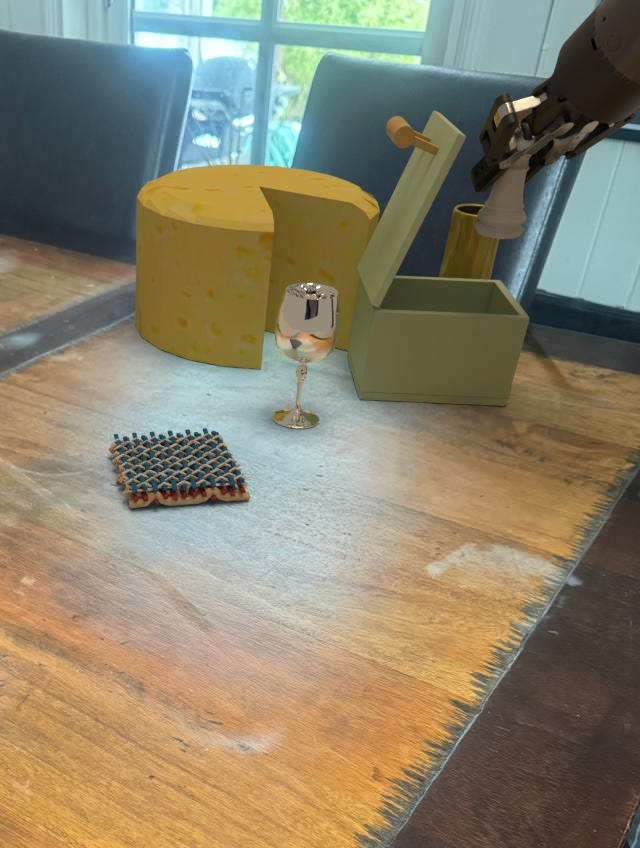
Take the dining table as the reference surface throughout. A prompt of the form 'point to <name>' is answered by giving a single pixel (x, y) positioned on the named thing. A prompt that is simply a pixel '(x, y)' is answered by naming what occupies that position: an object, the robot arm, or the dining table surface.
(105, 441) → the dining table surface
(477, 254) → the vase
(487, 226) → the rook chess piece
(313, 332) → the wineglass
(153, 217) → the cheese
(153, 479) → the woven mat
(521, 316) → the chest
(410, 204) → the lid
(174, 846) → the dining table surface
